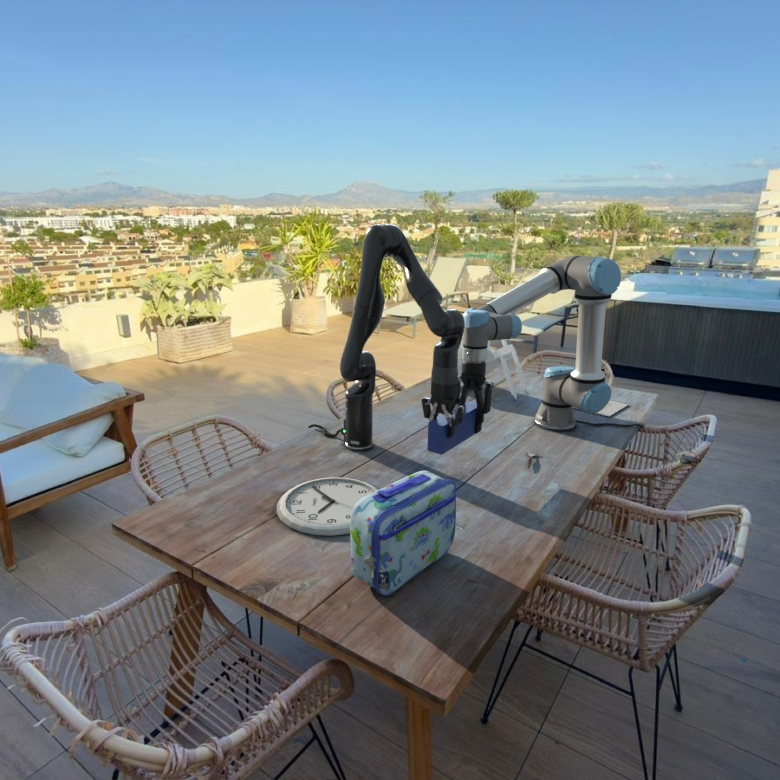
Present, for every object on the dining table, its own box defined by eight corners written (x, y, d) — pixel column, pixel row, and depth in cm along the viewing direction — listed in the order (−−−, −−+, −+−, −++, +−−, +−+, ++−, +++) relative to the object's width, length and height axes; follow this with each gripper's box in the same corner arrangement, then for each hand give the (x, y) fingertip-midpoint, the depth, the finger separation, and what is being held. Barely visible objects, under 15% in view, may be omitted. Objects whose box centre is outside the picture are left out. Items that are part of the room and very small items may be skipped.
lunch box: (378, 608, 104) (379, 516, 98) (343, 583, 112) (342, 495, 105) (459, 554, 122) (465, 473, 116) (425, 535, 129) (428, 458, 123)
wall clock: (392, 527, 129) (268, 531, 127) (391, 533, 130) (269, 537, 127) (383, 473, 158) (282, 475, 155) (383, 478, 158) (282, 480, 156)
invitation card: (608, 416, 214) (573, 407, 224) (608, 416, 214) (573, 408, 224) (628, 404, 229) (594, 396, 238) (628, 405, 229) (594, 397, 238)
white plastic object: (461, 429, 252) (437, 405, 227) (444, 352, 274) (420, 323, 250) (535, 404, 240) (518, 377, 215) (510, 326, 262) (492, 293, 237)
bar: (468, 426, 174) (469, 401, 171) (481, 430, 171) (483, 404, 168) (427, 450, 155) (428, 422, 152) (441, 455, 152) (443, 426, 149)
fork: (523, 469, 166) (524, 463, 165) (529, 450, 180) (529, 445, 179) (532, 470, 165) (532, 464, 164) (536, 451, 179) (537, 446, 179)
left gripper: (416, 378, 151) (414, 432, 156) (459, 387, 143) (456, 444, 148) (430, 372, 157) (428, 425, 162) (472, 381, 149) (469, 437, 154)
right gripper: (442, 358, 165) (439, 426, 172) (495, 367, 155) (489, 440, 162) (454, 353, 171) (451, 420, 178) (506, 362, 160) (500, 433, 167)
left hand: (441, 434), depth 155 cm, fingers closed on bar, 5 cm apart
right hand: (469, 429), depth 170 cm, fingers closed on bar, 5 cm apart
